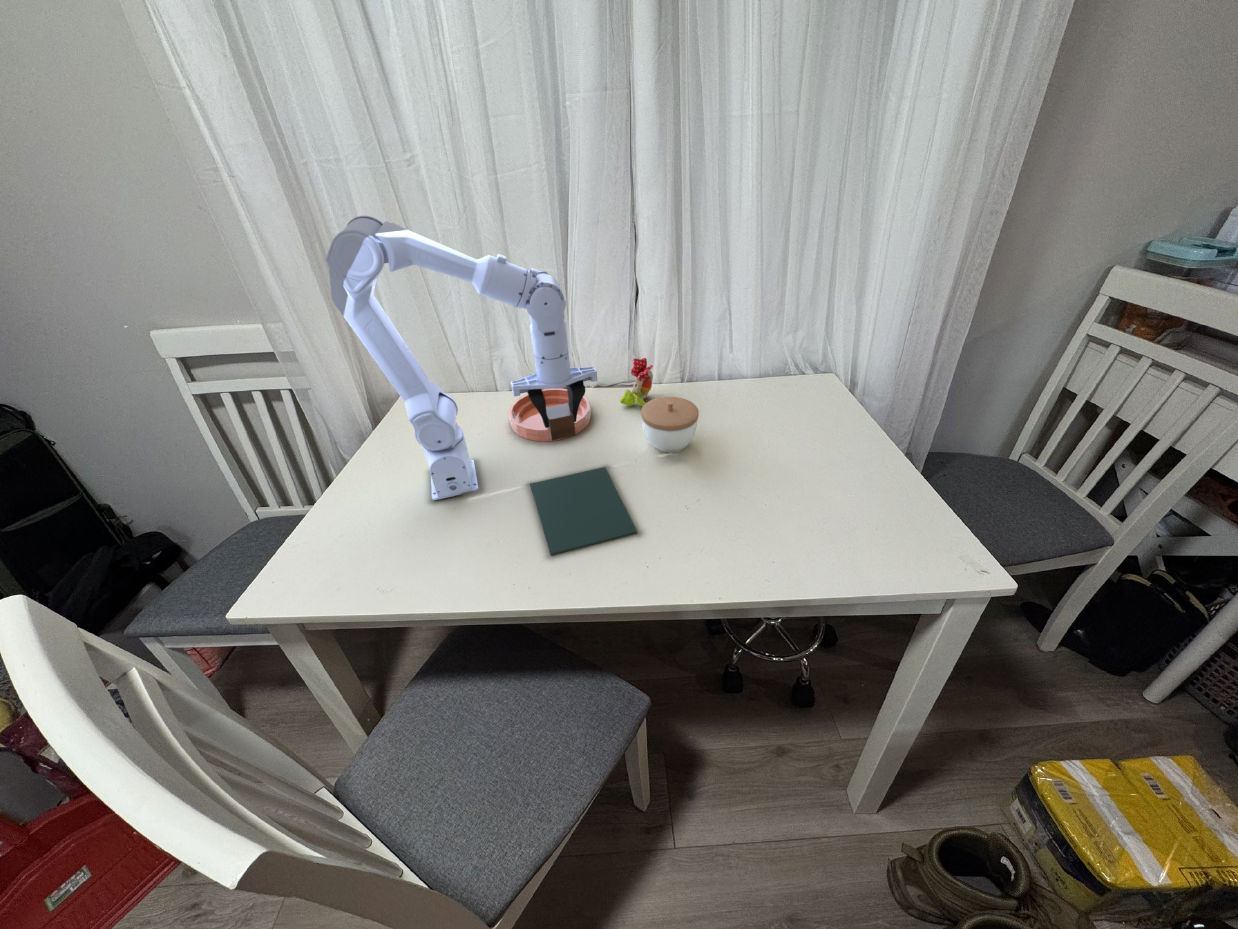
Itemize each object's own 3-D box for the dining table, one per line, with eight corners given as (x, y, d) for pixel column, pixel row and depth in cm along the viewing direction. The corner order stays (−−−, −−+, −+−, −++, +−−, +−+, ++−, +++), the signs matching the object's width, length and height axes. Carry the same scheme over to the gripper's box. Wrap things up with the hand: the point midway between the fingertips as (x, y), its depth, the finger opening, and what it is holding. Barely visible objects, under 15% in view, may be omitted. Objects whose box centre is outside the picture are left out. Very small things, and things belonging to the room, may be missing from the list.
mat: (637, 533, 82) (637, 531, 82) (550, 555, 79) (550, 553, 79) (605, 468, 96) (604, 466, 96) (530, 485, 93) (530, 483, 92)
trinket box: (689, 464, 96) (692, 422, 90) (634, 455, 99) (633, 413, 93) (701, 433, 104) (704, 392, 98) (650, 426, 107) (650, 385, 101)
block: (575, 435, 93) (573, 414, 90) (551, 440, 92) (548, 419, 89) (569, 423, 96) (567, 402, 93) (546, 428, 95) (543, 407, 92)
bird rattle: (630, 403, 118) (615, 407, 110) (638, 355, 115) (622, 355, 107) (656, 409, 116) (642, 413, 108) (664, 359, 113) (650, 360, 105)
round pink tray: (600, 433, 105) (599, 420, 103) (518, 450, 101) (515, 437, 100) (579, 395, 118) (578, 383, 116) (506, 409, 114) (504, 396, 112)
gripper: (587, 335, 89) (592, 403, 97) (503, 349, 86) (516, 419, 94) (598, 351, 84) (603, 422, 92) (509, 367, 80) (522, 439, 89)
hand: (560, 422), depth 93 cm, fingers closed on block, 4 cm apart
